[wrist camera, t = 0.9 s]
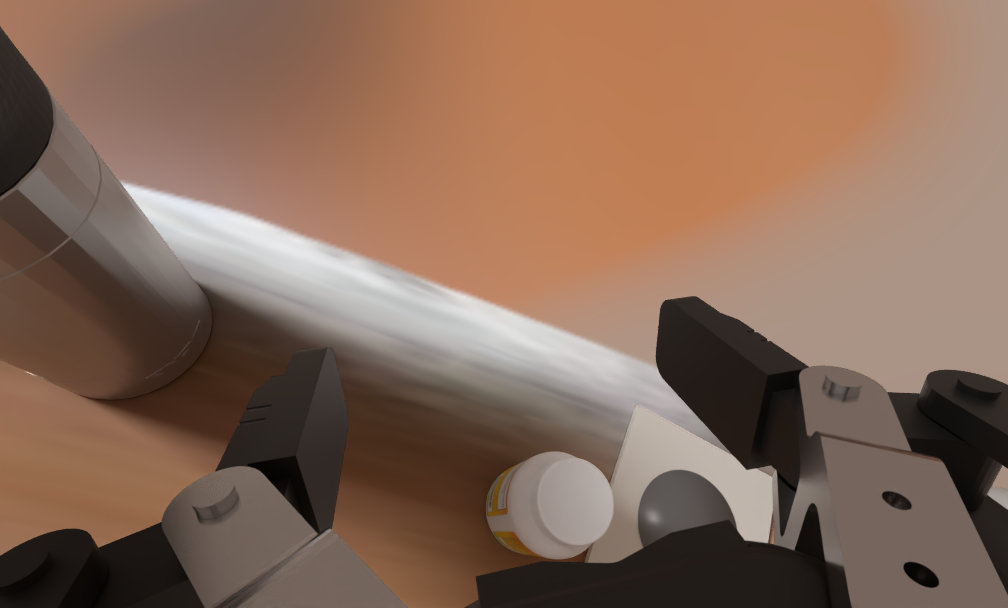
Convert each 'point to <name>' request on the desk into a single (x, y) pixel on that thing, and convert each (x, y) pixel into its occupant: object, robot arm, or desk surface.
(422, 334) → the desk surface
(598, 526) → the supplement bottle
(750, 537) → the plate
